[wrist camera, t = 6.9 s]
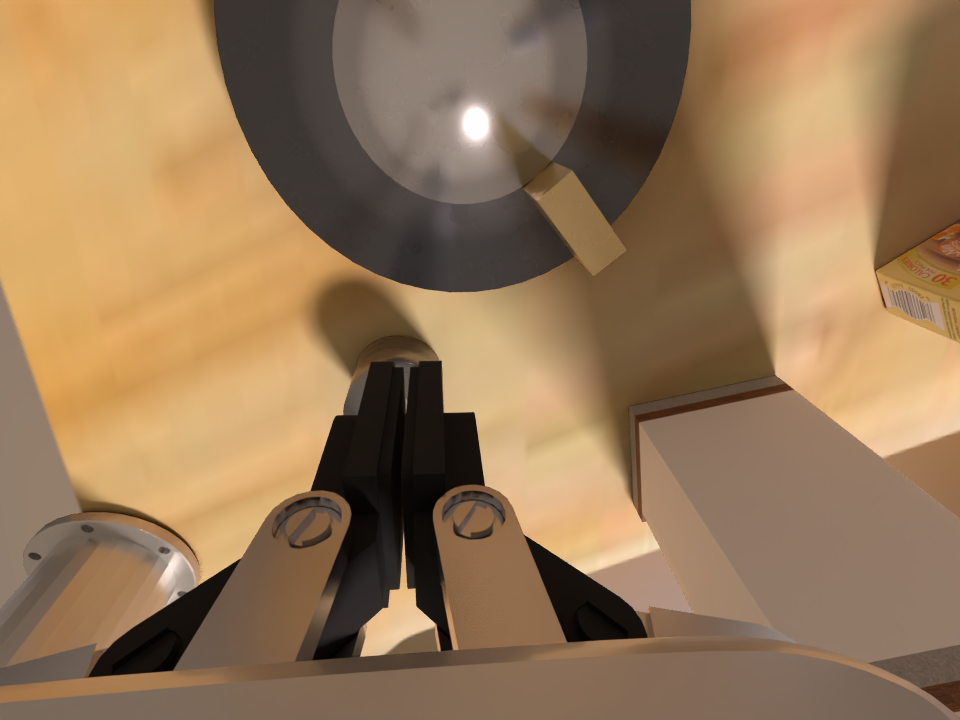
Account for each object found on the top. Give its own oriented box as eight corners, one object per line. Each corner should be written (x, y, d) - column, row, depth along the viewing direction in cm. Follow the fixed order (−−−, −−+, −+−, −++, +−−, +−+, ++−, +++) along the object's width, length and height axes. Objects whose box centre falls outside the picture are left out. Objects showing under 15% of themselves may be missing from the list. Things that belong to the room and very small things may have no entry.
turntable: (741, 105, 25) (821, 103, 20) (445, 346, 31) (447, 394, 26) (489, -439, 16) (514, -702, 11) (133, 40, 22) (37, 18, 17)
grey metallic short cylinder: (442, 408, 34) (443, 453, 30) (360, 410, 33) (348, 456, 29) (442, 334, 31) (443, 372, 27) (351, 335, 31) (337, 373, 26)
